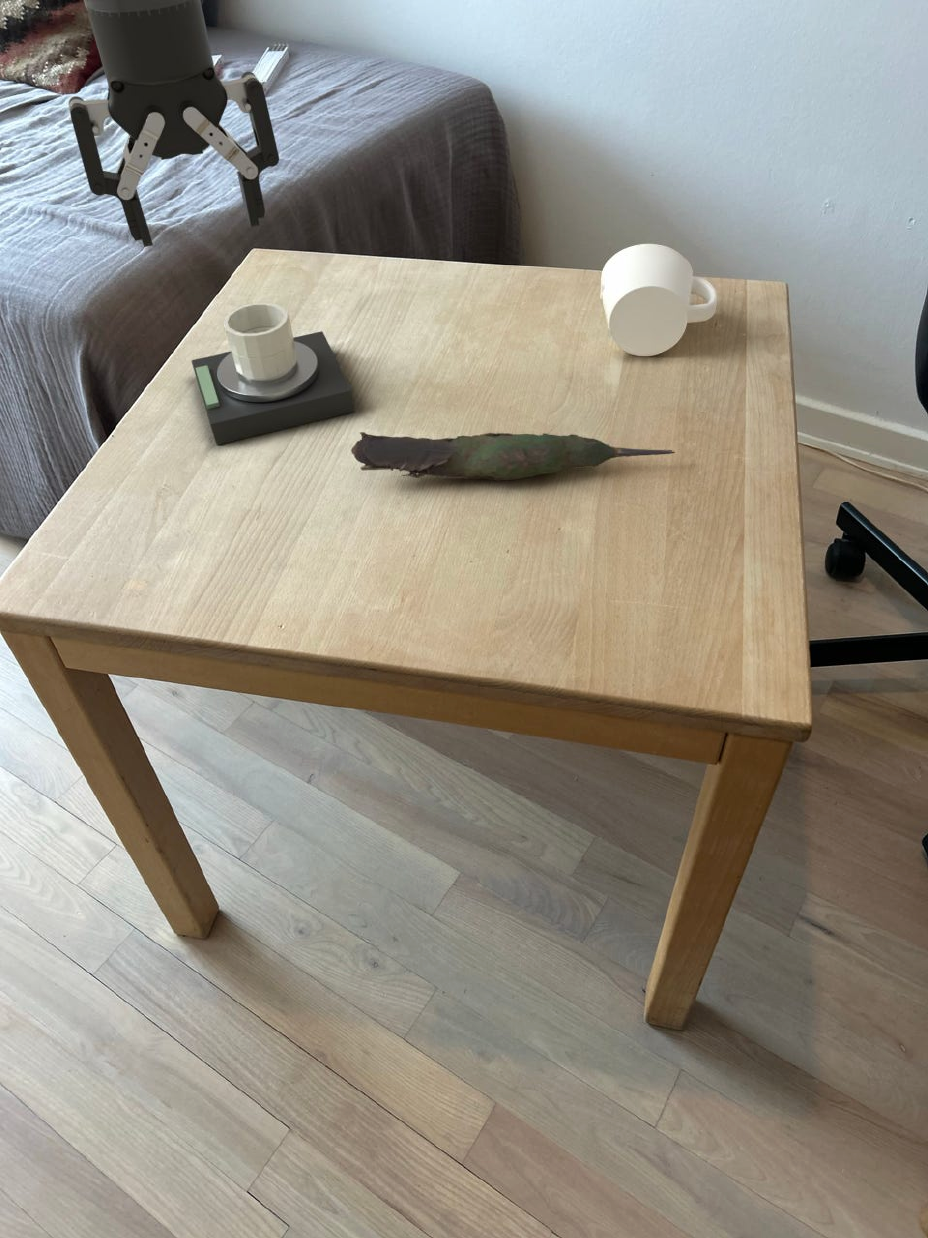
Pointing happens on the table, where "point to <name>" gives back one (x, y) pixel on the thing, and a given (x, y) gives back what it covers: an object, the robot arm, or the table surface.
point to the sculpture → (487, 455)
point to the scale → (257, 418)
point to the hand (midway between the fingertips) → (200, 232)
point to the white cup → (261, 341)
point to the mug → (652, 298)
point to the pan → (271, 389)
